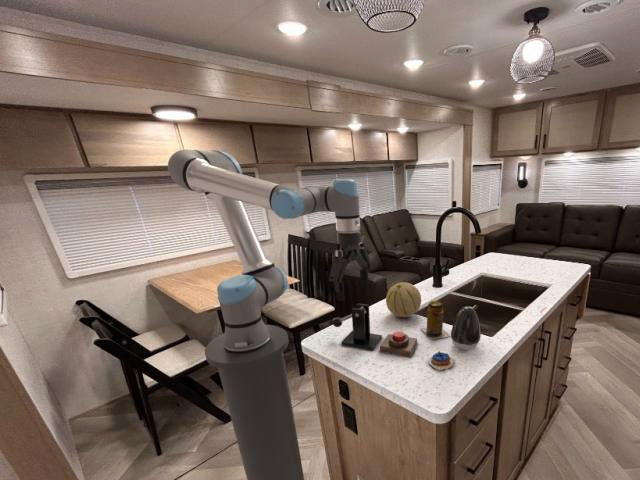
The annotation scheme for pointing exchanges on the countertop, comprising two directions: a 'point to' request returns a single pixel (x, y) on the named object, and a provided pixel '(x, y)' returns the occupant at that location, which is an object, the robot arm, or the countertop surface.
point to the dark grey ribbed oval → (466, 329)
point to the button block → (398, 345)
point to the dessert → (441, 361)
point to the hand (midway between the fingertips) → (353, 293)
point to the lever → (343, 319)
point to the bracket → (361, 330)
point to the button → (398, 336)
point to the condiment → (435, 321)
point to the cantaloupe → (403, 299)
